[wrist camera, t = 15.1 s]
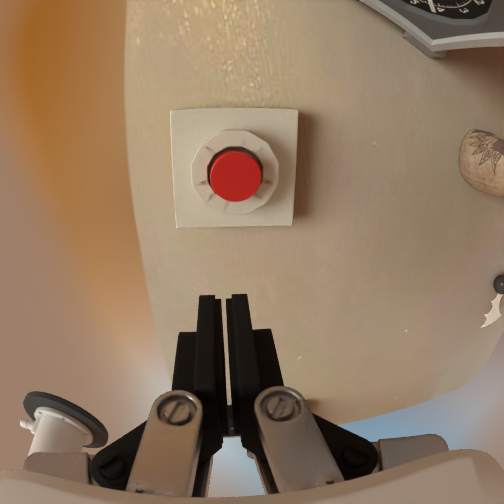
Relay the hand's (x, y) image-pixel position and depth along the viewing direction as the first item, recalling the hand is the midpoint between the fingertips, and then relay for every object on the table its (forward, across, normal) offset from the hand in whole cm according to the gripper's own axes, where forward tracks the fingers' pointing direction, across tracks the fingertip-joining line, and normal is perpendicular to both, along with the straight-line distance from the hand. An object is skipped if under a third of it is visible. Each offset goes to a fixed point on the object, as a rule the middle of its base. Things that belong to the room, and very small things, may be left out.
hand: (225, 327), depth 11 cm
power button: (+14, -1, -3) cm, 14 cm away
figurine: (+18, -29, -6) cm, 34 cm away
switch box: (+18, -1, -3) cm, 18 cm away
